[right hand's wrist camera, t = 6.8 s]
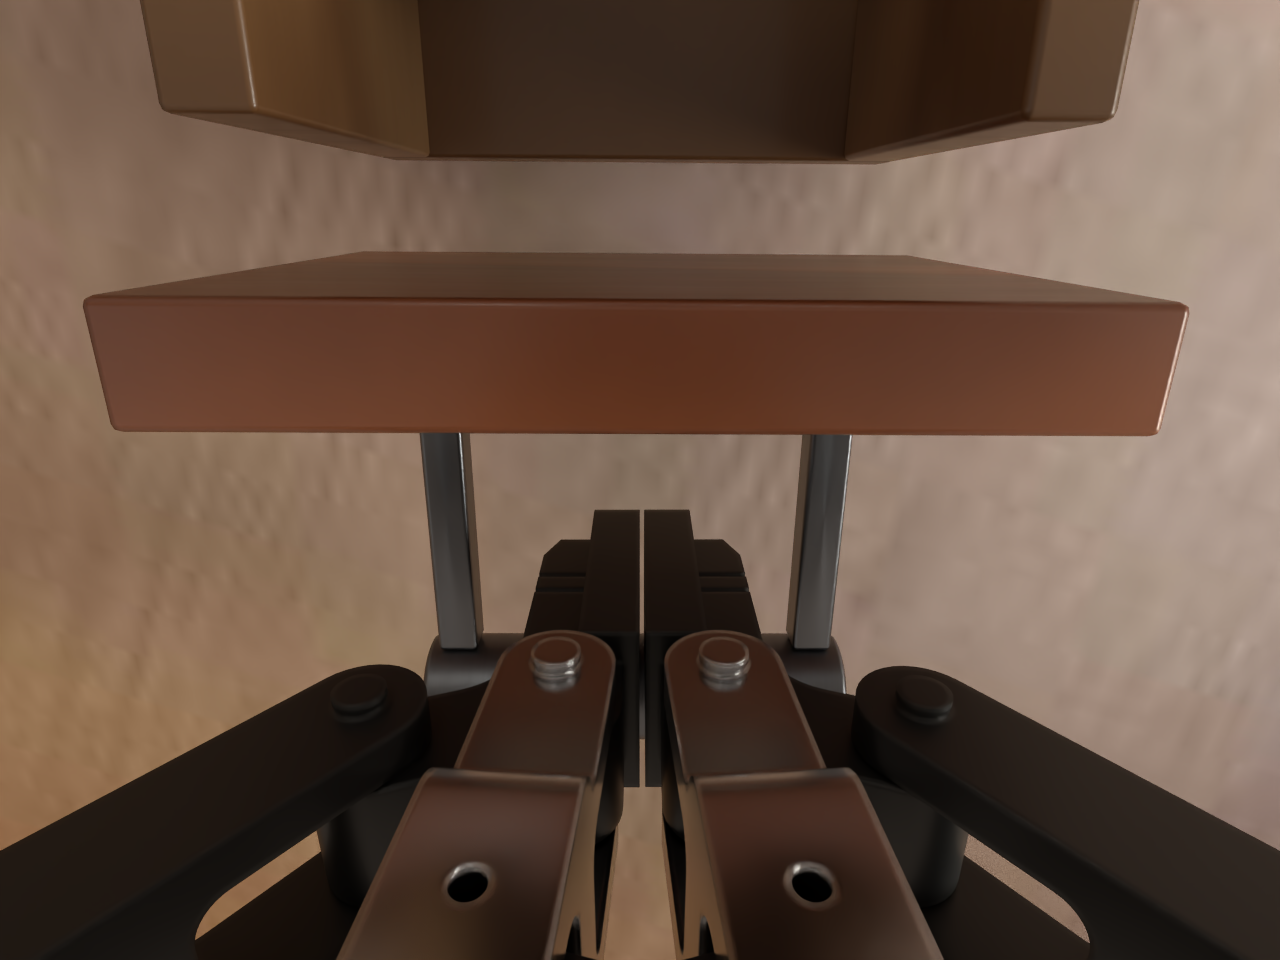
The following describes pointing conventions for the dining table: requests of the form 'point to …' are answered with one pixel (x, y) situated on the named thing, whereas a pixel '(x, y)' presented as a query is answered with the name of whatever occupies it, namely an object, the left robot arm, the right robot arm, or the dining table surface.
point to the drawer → (637, 283)
